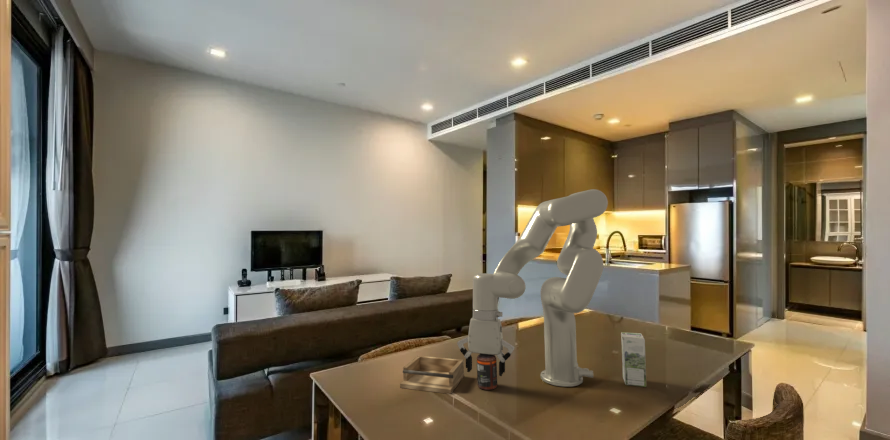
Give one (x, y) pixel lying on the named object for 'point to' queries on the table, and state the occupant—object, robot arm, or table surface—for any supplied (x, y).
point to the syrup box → (633, 359)
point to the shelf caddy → (433, 374)
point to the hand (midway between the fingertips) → (485, 372)
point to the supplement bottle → (486, 371)
